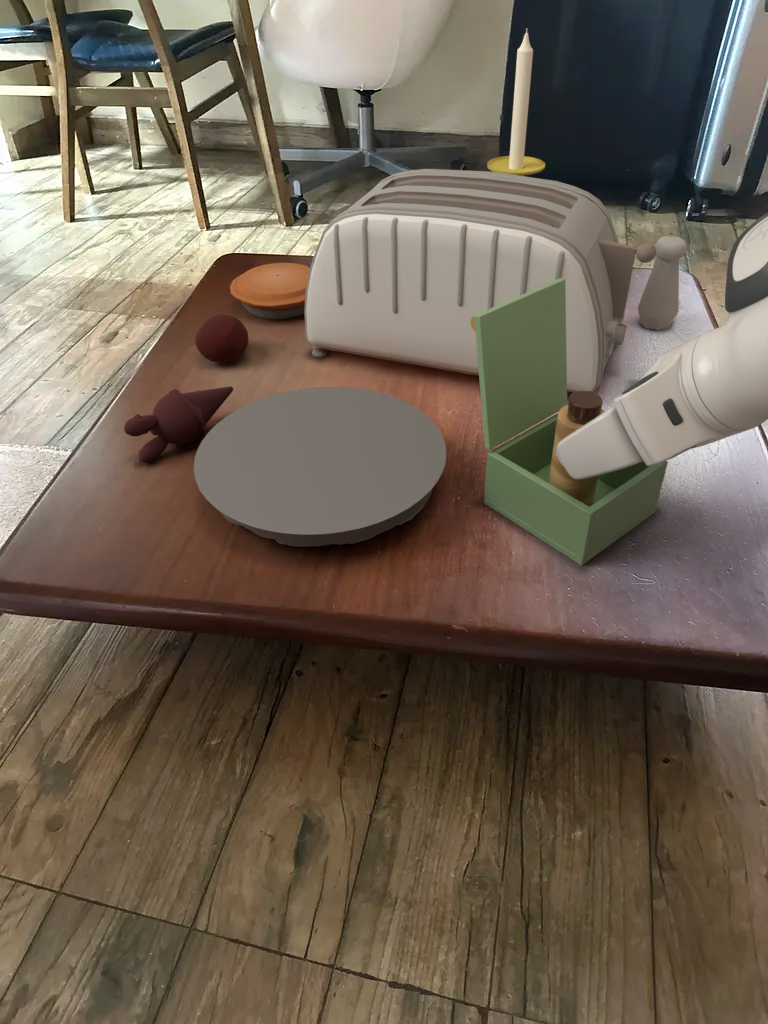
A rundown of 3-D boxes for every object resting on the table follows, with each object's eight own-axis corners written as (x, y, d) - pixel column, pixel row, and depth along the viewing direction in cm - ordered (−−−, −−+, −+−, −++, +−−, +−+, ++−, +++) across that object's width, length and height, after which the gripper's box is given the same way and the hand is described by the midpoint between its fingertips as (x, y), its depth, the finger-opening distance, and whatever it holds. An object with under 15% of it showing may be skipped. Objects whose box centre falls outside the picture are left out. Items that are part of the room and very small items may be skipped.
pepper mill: (597, 493, 86) (616, 391, 78) (587, 521, 82) (606, 417, 74) (552, 483, 87) (566, 382, 79) (540, 510, 84) (554, 406, 76)
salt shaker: (676, 318, 120) (695, 233, 111) (673, 334, 116) (693, 248, 107) (636, 313, 121) (652, 230, 113) (633, 329, 117) (649, 244, 109)
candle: (514, 278, 133) (537, 20, 109) (548, 300, 126) (580, 29, 102) (463, 290, 129) (475, 26, 105) (495, 313, 122) (515, 37, 98)
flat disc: (457, 425, 98) (458, 394, 96) (429, 580, 77) (429, 547, 74) (244, 409, 102) (239, 379, 100) (162, 553, 81) (153, 520, 78)
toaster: (618, 417, 99) (653, 242, 84) (301, 360, 112) (284, 200, 98) (641, 342, 114) (674, 183, 100) (359, 299, 127) (352, 154, 113)
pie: (251, 282, 134) (247, 254, 131) (338, 287, 131) (336, 258, 128) (219, 322, 122) (213, 292, 119) (314, 329, 120) (311, 298, 117)
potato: (189, 368, 111) (181, 329, 108) (216, 339, 118) (209, 302, 114) (237, 374, 110) (231, 335, 106) (262, 344, 116) (257, 306, 113)
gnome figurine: (207, 359, 100) (105, 415, 93) (238, 365, 95) (133, 425, 88) (227, 407, 104) (131, 464, 96) (258, 415, 98) (159, 477, 91)
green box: (655, 512, 84) (668, 461, 80) (581, 566, 78) (591, 514, 74) (557, 457, 93) (564, 409, 88) (483, 503, 86) (486, 452, 82)
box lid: (565, 278, 80) (529, 273, 83) (479, 316, 74) (444, 308, 77) (567, 406, 88) (534, 396, 91) (489, 450, 81) (457, 438, 85)
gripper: (750, 320, 71) (641, 374, 84) (612, 401, 62) (510, 449, 74) (782, 381, 72) (668, 426, 84) (649, 471, 62) (542, 507, 74)
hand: (593, 437), depth 79 cm, fingers open, 8 cm apart
